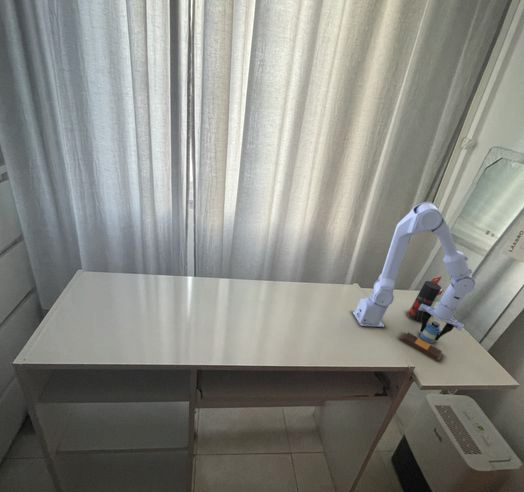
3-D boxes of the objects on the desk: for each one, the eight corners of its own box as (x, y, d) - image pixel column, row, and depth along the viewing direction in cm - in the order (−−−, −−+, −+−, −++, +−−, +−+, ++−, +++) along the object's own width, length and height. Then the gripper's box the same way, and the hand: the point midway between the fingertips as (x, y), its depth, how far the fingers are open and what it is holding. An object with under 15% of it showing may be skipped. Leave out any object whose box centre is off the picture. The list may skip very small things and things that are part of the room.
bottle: (424, 342, 113) (434, 327, 109) (417, 333, 117) (426, 318, 113) (436, 343, 114) (446, 328, 110) (428, 333, 118) (438, 319, 114)
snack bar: (399, 339, 112) (401, 335, 111) (404, 334, 115) (406, 330, 114) (438, 361, 105) (440, 357, 104) (441, 355, 108) (444, 352, 107)
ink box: (432, 309, 134) (450, 280, 126) (422, 313, 130) (440, 283, 122) (424, 304, 136) (441, 275, 128) (414, 308, 132) (431, 278, 124)
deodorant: (424, 323, 124) (443, 291, 115) (408, 319, 124) (426, 286, 116) (420, 314, 129) (438, 283, 120) (406, 310, 129) (423, 279, 121)
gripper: (473, 311, 106) (452, 341, 114) (430, 290, 113) (413, 320, 121) (469, 318, 102) (447, 349, 109) (424, 296, 108) (407, 327, 116)
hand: (429, 334), depth 115 cm, fingers closed on bottle, 5 cm apart
